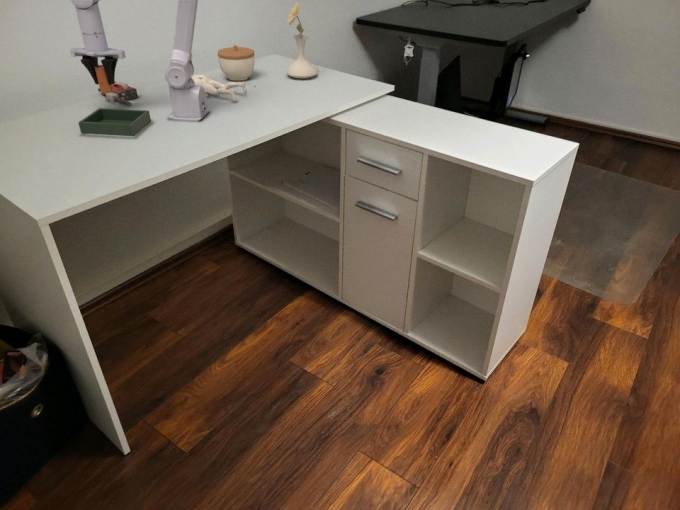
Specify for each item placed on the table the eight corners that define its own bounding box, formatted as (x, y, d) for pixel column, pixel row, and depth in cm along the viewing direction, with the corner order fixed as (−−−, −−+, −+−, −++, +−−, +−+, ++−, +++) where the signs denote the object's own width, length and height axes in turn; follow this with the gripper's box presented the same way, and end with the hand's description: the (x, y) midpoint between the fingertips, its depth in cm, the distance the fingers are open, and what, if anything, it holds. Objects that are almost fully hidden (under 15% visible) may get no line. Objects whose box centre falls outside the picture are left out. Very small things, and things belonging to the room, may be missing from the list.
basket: (151, 122, 148) (149, 110, 146) (134, 138, 138) (131, 125, 136) (102, 120, 149) (99, 107, 147) (81, 135, 139) (78, 122, 137)
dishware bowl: (253, 83, 180) (250, 50, 174) (217, 82, 180) (213, 49, 174) (258, 73, 191) (256, 41, 184) (224, 72, 191) (220, 40, 184)
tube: (115, 90, 149) (109, 64, 145) (110, 93, 146) (104, 68, 142) (104, 89, 149) (98, 64, 146) (98, 93, 147) (92, 67, 143)
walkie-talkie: (92, 95, 167) (128, 109, 157) (89, 81, 165) (125, 94, 154) (117, 89, 173) (153, 102, 163) (114, 75, 170) (150, 88, 160)
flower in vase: (289, 71, 194) (287, -3, 180) (319, 73, 193) (319, -1, 179) (281, 81, 184) (278, 3, 169) (313, 83, 182) (312, 5, 168)
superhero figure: (250, 97, 171) (187, 88, 179) (249, 78, 169) (185, 70, 176) (230, 103, 162) (165, 94, 170) (229, 84, 159) (163, 75, 167)
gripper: (59, 34, 136) (73, 86, 144) (112, 36, 135) (123, 89, 143) (72, 29, 142) (85, 79, 150) (124, 31, 141) (134, 81, 149)
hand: (105, 83), depth 147 cm, fingers closed on tube, 3 cm apart
